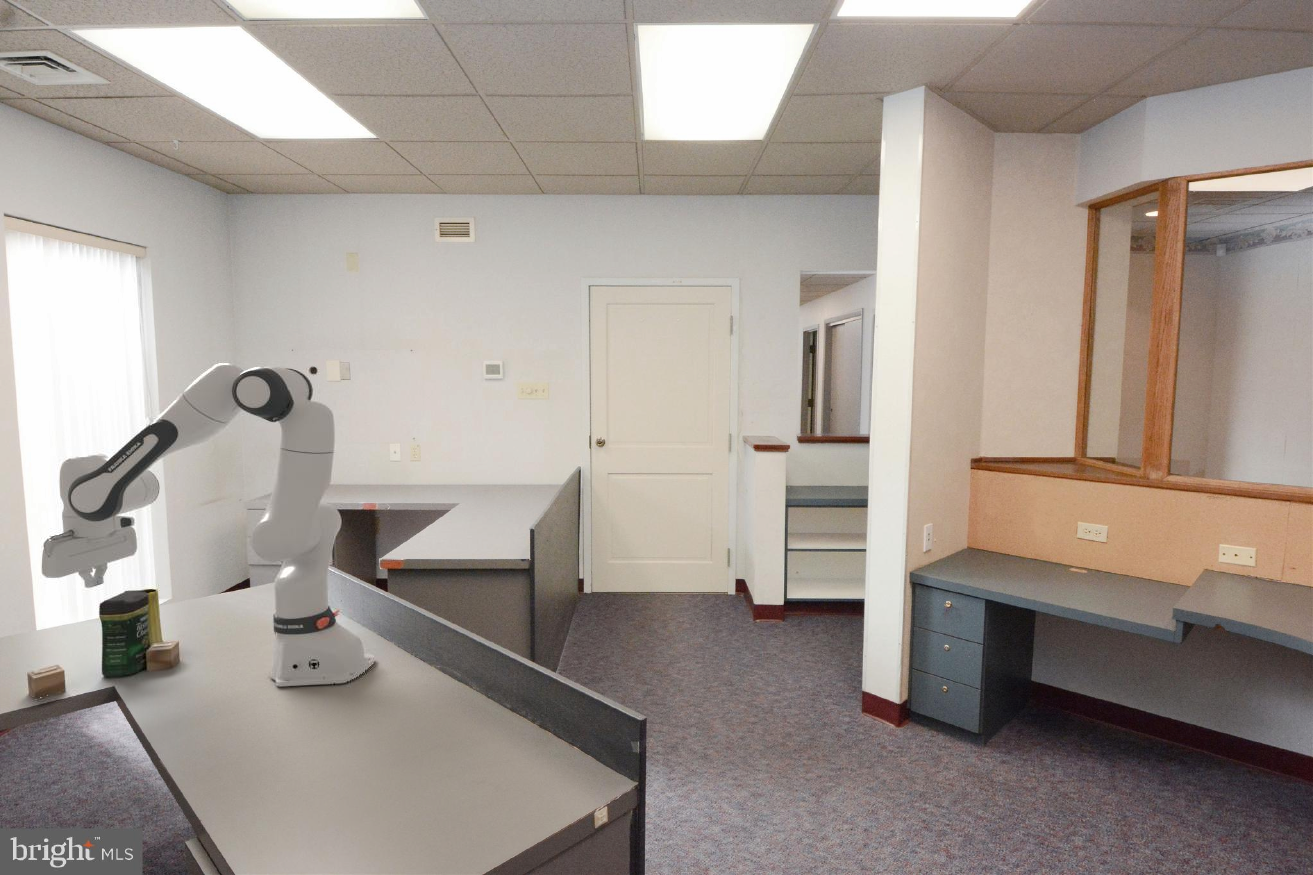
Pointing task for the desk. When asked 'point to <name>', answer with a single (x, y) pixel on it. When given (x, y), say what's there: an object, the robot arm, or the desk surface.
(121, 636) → the coffee jar
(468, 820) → the desk surface
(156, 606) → the vase
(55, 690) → the marked block 1
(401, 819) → the desk surface
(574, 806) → the desk surface
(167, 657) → the marked block 2
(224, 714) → the desk surface
